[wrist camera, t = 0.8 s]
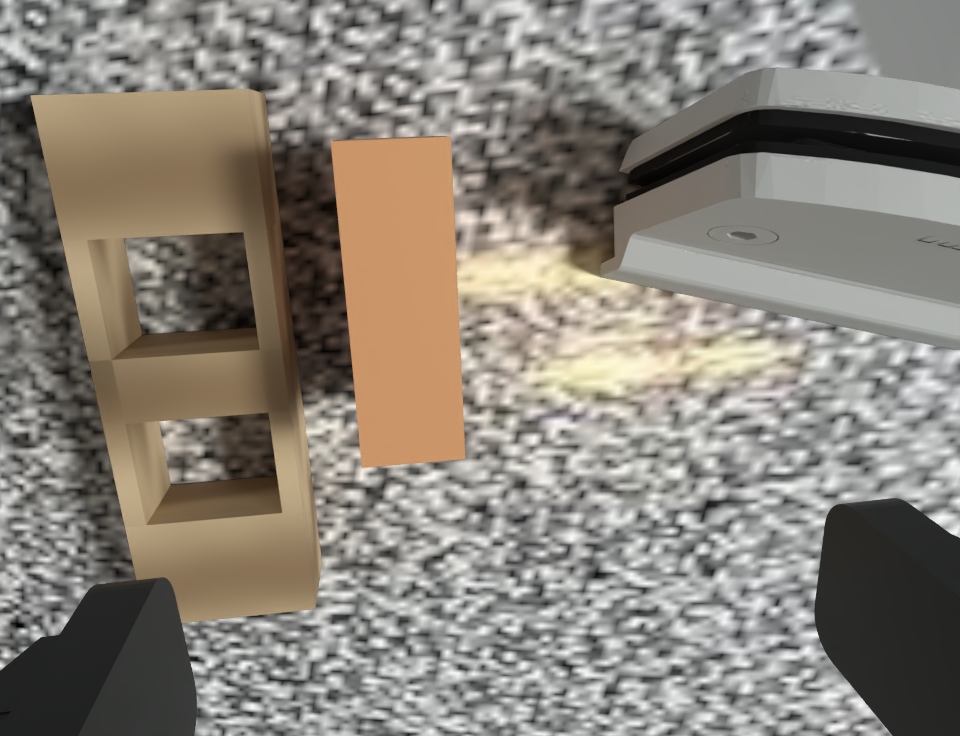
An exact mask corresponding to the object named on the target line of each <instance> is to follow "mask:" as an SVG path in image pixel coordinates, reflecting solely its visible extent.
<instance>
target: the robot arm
mask: <svg viewBox="0 0 960 736" xmlns="http://www.w3.org/2000/svg"><path fill="white" fill-rule="evenodd" d="M814 612H815V623H816V628H817V632H818V635H819V638H820V641H821V643H822V646H823V648H824V650H825V652H826V654H827V655H828V657H829V658H830V660H831V661H832V663H833V664H834V665H835V666H836V667H837V669H838V670H839V671H840V672H841V674H842V675H843V676H844V677H845V678H846V680H847V681H848V682H849V683H850V684H851V686H852V687H853V688H854V689H855V690H856V692H857V693H858V694H859V695H860V697H861V698H862V699H863V700H864V701H865V703H866V704H867V705H868V706H869V707H870V709H871V710H872V711H873V712H874V713H875V715H876V716H877V717H878V718H879V720H880V721H881V722H882V723H883V724H884V726H885V727H886V728H887V729H888V730H889V732H890V733H891V734H892V735H893V736H960V538H959V537H957V536H954V535H952V534H950V533H949V532H947V531H946V530H945V529H943V528H942V527H940V526H939V525H938V524H936V523H935V522H934V521H932V520H931V519H929V518H928V517H927V516H925V515H924V514H923V513H921V512H920V511H919V510H917V509H916V508H914V507H913V506H912V505H910V504H909V503H907V502H906V501H904V500H901V499H897V498H891V499H882V500H873V501H864V502H855V503H846V504H838V505H836V506H834V507H833V508H832V509H831V510H830V511H829V513H828V515H827V518H826V522H825V528H824V536H823V544H822V552H821V560H820V568H819V576H818V584H817V592H816V600H815V610H814ZM196 713H197V698H196V687H195V681H194V677H193V672H192V668H191V663H190V659H189V654H188V650H187V645H186V641H185V637H184V632H183V628H182V623H181V619H180V614H179V610H178V605H177V601H176V596H175V593H174V589H173V587H172V585H171V583H170V581H169V580H168V579H167V578H165V577H161V578H152V579H143V580H133V581H124V582H115V583H106V584H97V585H94V586H93V587H91V588H90V589H89V590H88V592H87V593H86V595H85V596H84V598H83V599H82V601H81V602H80V604H79V605H78V607H77V609H76V610H75V612H74V613H73V615H72V616H71V618H70V620H69V621H68V623H67V624H66V626H65V627H64V629H63V630H62V632H61V634H60V635H56V636H48V637H41V638H40V639H38V640H37V641H36V642H35V643H33V644H32V645H31V646H30V647H29V648H27V649H26V650H25V651H24V652H23V653H21V654H20V655H19V656H18V657H17V658H15V659H14V660H13V661H12V662H10V663H9V664H8V665H7V666H6V667H4V668H3V669H2V670H1V671H0V736H194V732H195V725H196Z"/></svg>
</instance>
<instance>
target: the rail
mask: <svg viewBox="0 0 960 736" xmlns="http://www.w3.org/2000/svg"><path fill="white" fill-rule="evenodd" d="M31 100H32V105H33V109H34V114H35V118H36V123H37V128H38V132H39V137H40V141H41V146H42V150H43V155H44V160H45V164H46V169H47V173H48V178H49V182H50V187H51V192H52V196H53V201H54V205H55V210H56V214H57V219H58V224H59V228H60V233H61V237H62V242H63V246H64V251H65V256H66V260H67V265H68V269H69V274H70V278H71V283H72V288H73V292H74V297H75V301H76V306H77V310H78V315H79V320H80V324H81V329H82V333H83V338H84V342H85V347H86V352H87V356H88V361H89V365H90V370H91V374H92V379H93V384H94V388H95V393H96V397H97V402H98V406H99V411H100V416H101V420H102V425H103V429H104V434H105V438H106V443H107V448H108V452H109V457H110V461H111V466H112V470H113V475H114V480H115V484H116V489H117V493H118V498H119V502H120V507H121V512H122V516H123V521H124V525H125V530H126V534H127V539H128V544H129V548H130V553H131V557H132V562H133V566H134V571H135V576H136V580H143V579H152V578H161V577H165V578H167V579H168V580H169V581H170V583H171V585H172V587H173V589H174V593H175V596H176V601H177V605H178V610H179V614H180V619H181V623H187V622H197V621H206V620H216V619H225V618H234V617H244V616H253V615H263V614H272V613H282V612H291V611H301V610H310V609H315V606H316V600H317V593H318V586H319V580H320V573H321V566H322V559H321V551H320V543H319V534H318V526H317V518H316V510H315V501H314V493H313V485H312V477H311V469H310V460H309V452H308V444H307V436H306V427H305V419H304V411H303V403H302V395H301V386H300V378H299V370H298V362H297V354H296V345H295V337H294V329H293V321H292V312H291V304H290V296H289V288H288V280H287V271H286V263H285V255H284V247H283V238H282V230H281V222H280V214H279V206H278V197H277V189H276V181H275V173H274V165H273V156H272V148H271V140H270V132H269V123H268V115H267V107H266V99H265V94H263V93H260V92H257V91H253V90H250V89H231V90H197V91H164V92H131V93H98V94H65V95H31ZM235 232H243V233H244V240H245V247H246V254H247V262H248V269H249V276H250V283H251V290H252V298H253V305H254V312H255V319H256V327H255V328H239V329H224V330H208V331H193V332H177V333H162V334H146V335H142V332H141V327H140V321H139V316H138V311H137V306H136V301H135V295H134V290H133V285H132V280H131V274H130V269H129V264H128V259H127V254H126V248H125V243H124V238H137V237H156V236H176V235H196V234H216V233H235ZM258 413H269V420H270V428H271V435H272V442H273V449H274V457H275V464H276V471H277V476H270V477H259V478H247V479H235V480H224V481H212V482H200V483H189V484H177V485H171V483H170V478H169V473H168V468H167V462H166V457H165V452H164V447H163V442H162V436H161V431H160V426H159V421H167V420H180V419H193V418H206V417H219V416H232V415H245V414H258Z"/></svg>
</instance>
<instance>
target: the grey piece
mask: <svg viewBox="0 0 960 736" xmlns="http://www.w3.org/2000/svg"><path fill="white" fill-rule="evenodd" d="M619 171H620V172H624V173H628V174H630V175H629V183H633V184H638V185H642V186H645V187H643V188H640V189H638V190H636V191H634V192H632V193H630V194H627V195H626V201H625V202H624V203H621V204H619V205H617V206H615V207H614V247H615V257H613V258H611V259H609V260H607V261H605V262H603V263H601V268H600V277H603V278H607V279H612V280H617V281H622V282H627V283H632V284H637V285H642V286H646V287H651V288H656V289H661V290H666V291H671V292H676V293H681V294H686V295H690V296H695V297H700V298H705V299H710V300H715V301H720V302H725V303H730V304H734V305H739V306H744V307H749V308H754V309H759V310H764V311H769V312H774V313H778V314H783V315H788V316H793V317H798V318H803V319H808V320H813V321H817V322H822V323H827V324H832V325H837V326H842V327H847V328H852V329H857V330H861V331H866V332H871V333H876V334H881V335H886V336H891V337H896V338H901V339H905V340H910V341H915V342H920V343H925V344H930V345H935V346H940V347H945V348H949V349H954V350H960V90H958V89H952V88H947V87H942V86H937V85H931V84H926V83H921V82H915V81H908V80H901V79H894V78H886V77H879V76H872V75H862V74H852V73H842V72H832V71H820V70H806V69H792V68H778V67H777V68H764V69H759V70H755V71H751V72H748V73H746V74H744V75H742V76H741V77H739V78H737V79H736V80H734V81H732V82H730V83H729V84H727V85H725V86H724V87H722V88H720V89H719V90H717V91H715V92H713V93H712V94H710V95H708V96H707V97H705V98H703V99H702V100H700V101H698V102H696V103H695V104H693V105H691V106H690V107H688V108H686V109H685V110H683V111H681V112H679V113H678V114H676V115H674V116H673V117H671V118H669V119H668V120H666V121H664V122H662V123H661V124H659V125H657V126H656V127H654V128H652V129H651V130H649V131H647V132H645V133H644V134H642V135H640V136H639V137H637V138H635V139H634V140H632V142H631V144H630V146H629V148H628V150H627V152H626V155H625V157H624V160H623V162H622V165H621V168H620V170H619Z"/></svg>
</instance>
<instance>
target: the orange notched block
mask: <svg viewBox="0 0 960 736" xmlns="http://www.w3.org/2000/svg"><path fill="white" fill-rule="evenodd" d="M331 150H332V160H333V171H334V181H335V192H336V202H337V212H338V223H339V233H340V243H341V254H342V264H343V275H344V285H345V295H346V306H347V316H348V326H349V337H350V347H351V358H352V368H353V378H354V389H355V399H356V409H357V420H358V430H359V441H360V451H361V461H362V468H365V467H377V466H389V465H400V464H412V463H423V462H435V461H447V460H458V459H465V441H464V419H463V397H462V375H461V353H460V332H459V310H458V288H457V266H456V244H455V222H454V200H453V179H452V157H451V137H447V136H428V137H401V138H375V139H349V140H336V141H331Z"/></svg>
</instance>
